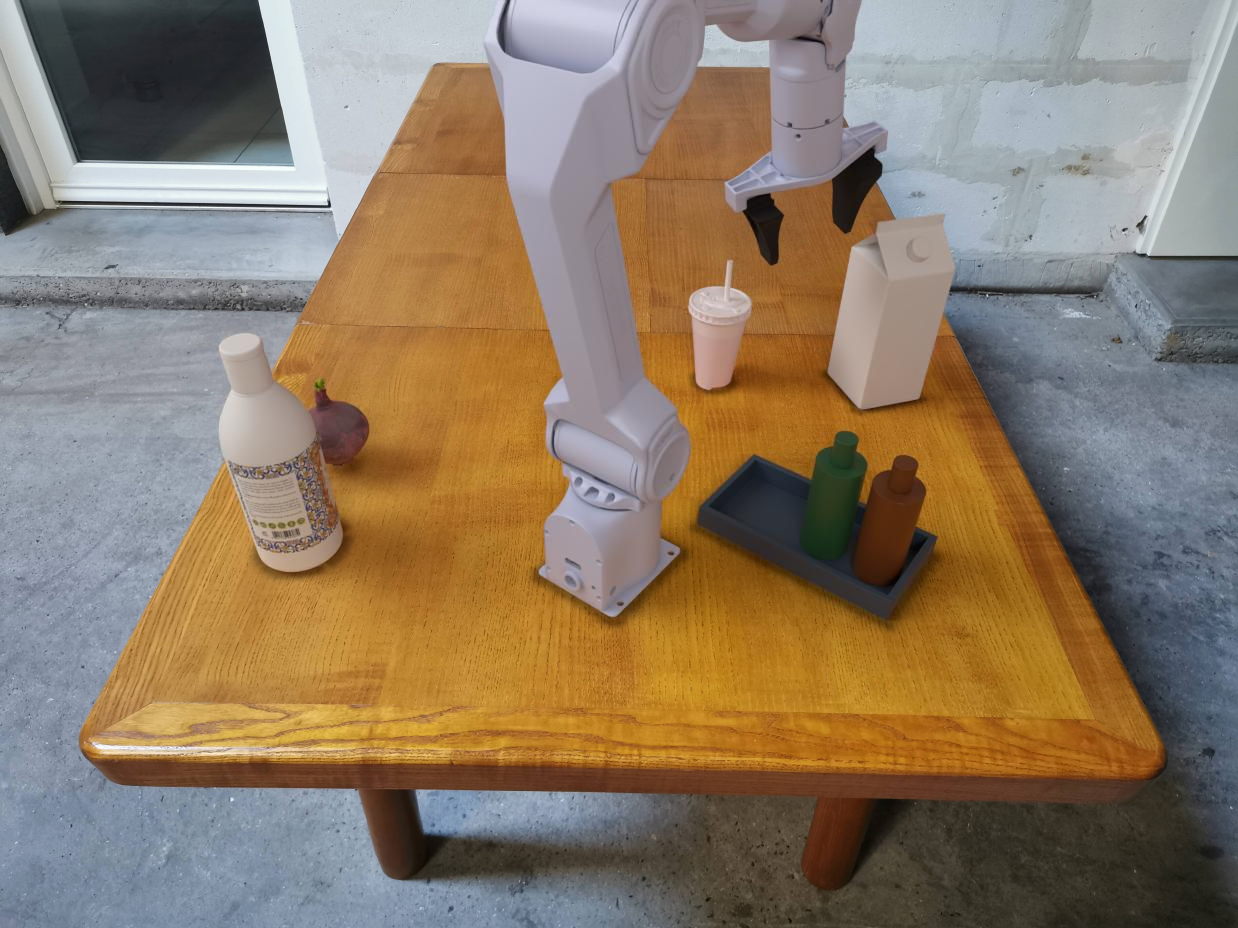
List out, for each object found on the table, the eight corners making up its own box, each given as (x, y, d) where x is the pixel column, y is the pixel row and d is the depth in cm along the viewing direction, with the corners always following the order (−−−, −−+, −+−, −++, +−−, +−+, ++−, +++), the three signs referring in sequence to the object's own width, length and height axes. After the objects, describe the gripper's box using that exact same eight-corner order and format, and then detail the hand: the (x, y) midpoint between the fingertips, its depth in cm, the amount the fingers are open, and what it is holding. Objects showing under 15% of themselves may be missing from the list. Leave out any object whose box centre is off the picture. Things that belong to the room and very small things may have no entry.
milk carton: (826, 374, 95) (858, 207, 83) (884, 364, 97) (924, 199, 85) (859, 411, 90) (898, 239, 78) (919, 400, 92) (967, 229, 80)
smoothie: (745, 398, 92) (760, 277, 83) (684, 397, 92) (692, 276, 83) (740, 365, 97) (754, 247, 88) (681, 363, 97) (690, 245, 88)
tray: (885, 624, 69) (892, 602, 67) (696, 527, 77) (698, 506, 75) (931, 557, 74) (938, 536, 73) (750, 474, 82) (753, 453, 81)
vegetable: (295, 480, 81) (269, 390, 75) (327, 440, 86) (304, 352, 79) (356, 490, 80) (335, 400, 74) (385, 449, 85) (367, 361, 78)
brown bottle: (888, 594, 70) (921, 486, 63) (842, 571, 72) (869, 464, 65) (908, 565, 73) (942, 459, 65) (864, 544, 75) (892, 438, 67)
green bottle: (834, 567, 72) (859, 460, 65) (791, 546, 74) (811, 440, 67) (855, 540, 75) (882, 434, 68) (813, 520, 77) (835, 415, 70)
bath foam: (354, 556, 73) (302, 353, 61) (269, 586, 71) (196, 380, 58) (332, 507, 78) (279, 309, 65) (251, 533, 75) (179, 332, 63)
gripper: (858, 55, 73) (850, 191, 84) (703, 118, 72) (715, 248, 82) (908, 93, 69) (893, 231, 80) (744, 161, 67) (751, 292, 78)
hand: (805, 242), depth 81 cm, fingers open, 7 cm apart
